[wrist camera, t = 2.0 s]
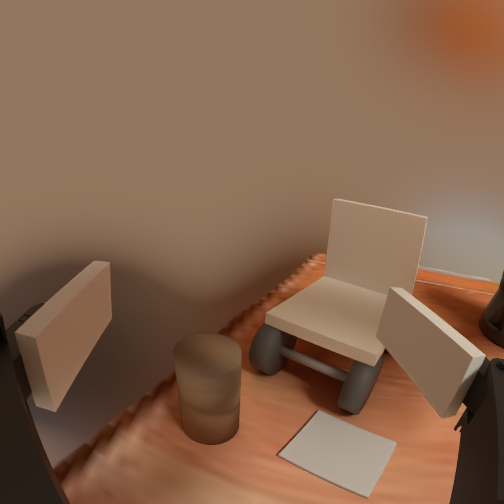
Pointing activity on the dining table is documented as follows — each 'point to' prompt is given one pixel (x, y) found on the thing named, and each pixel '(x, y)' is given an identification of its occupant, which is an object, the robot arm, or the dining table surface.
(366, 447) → the pad
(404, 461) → the dining table surface
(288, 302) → the trolley
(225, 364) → the cylindrical block
